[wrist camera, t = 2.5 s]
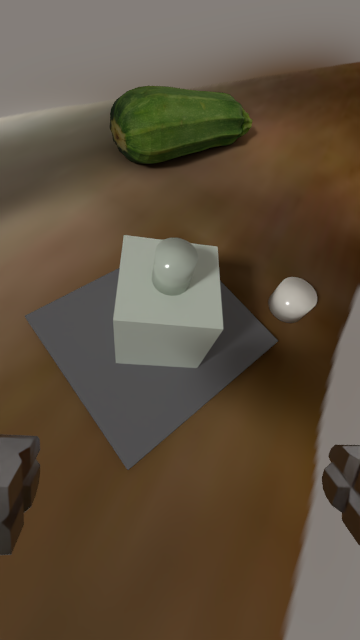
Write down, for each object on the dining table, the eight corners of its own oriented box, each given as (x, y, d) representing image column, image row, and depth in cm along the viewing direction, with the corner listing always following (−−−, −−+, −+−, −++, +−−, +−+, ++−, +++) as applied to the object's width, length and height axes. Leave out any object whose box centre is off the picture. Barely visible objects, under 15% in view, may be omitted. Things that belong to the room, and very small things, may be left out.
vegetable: (105, 69, 28) (260, 60, 35) (96, 121, 34) (228, 104, 42) (136, 145, 29) (281, 120, 36) (120, 181, 35) (246, 154, 43)
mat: (26, 319, 24) (24, 316, 23) (177, 241, 30) (178, 237, 30) (127, 470, 20) (127, 470, 19) (275, 343, 26) (278, 340, 26)
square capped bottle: (115, 363, 23) (111, 297, 14) (123, 293, 26) (124, 205, 17) (197, 368, 23) (237, 309, 15) (195, 300, 26) (228, 220, 18)
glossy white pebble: (260, 302, 28) (272, 288, 26) (283, 286, 30) (295, 271, 28) (287, 330, 28) (301, 317, 25) (309, 311, 29) (324, 298, 27)
